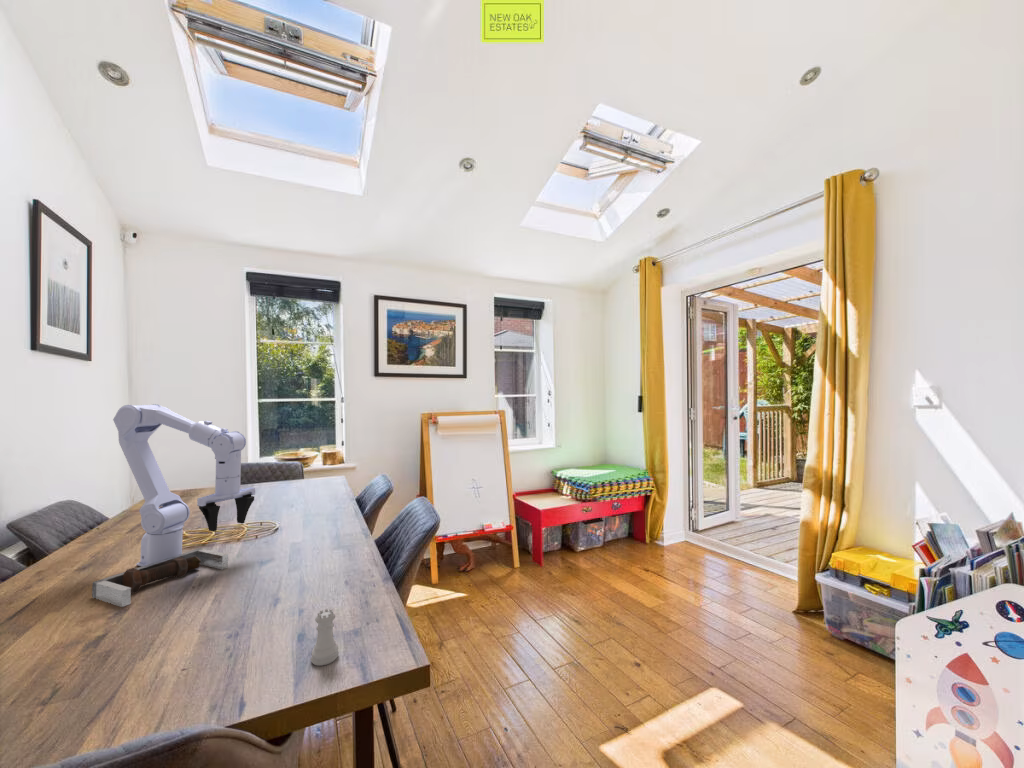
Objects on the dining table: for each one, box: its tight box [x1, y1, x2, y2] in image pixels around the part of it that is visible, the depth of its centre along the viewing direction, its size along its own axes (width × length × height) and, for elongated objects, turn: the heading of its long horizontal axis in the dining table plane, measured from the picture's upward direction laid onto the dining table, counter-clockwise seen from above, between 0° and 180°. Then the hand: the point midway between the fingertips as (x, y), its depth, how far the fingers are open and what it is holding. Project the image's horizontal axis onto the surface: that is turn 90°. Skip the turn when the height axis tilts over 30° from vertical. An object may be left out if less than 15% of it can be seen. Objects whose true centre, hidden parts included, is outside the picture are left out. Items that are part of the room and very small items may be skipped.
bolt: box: [122, 556, 202, 594], centre depth 105 cm, size 6×5×15 cm
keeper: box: [91, 548, 229, 608], centre depth 104 cm, size 12×23×4 cm, turn 158°
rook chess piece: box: [310, 608, 339, 667], centre depth 74 cm, size 4×4×8 cm
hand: (227, 526), depth 116 cm, fingers open, 7 cm apart
